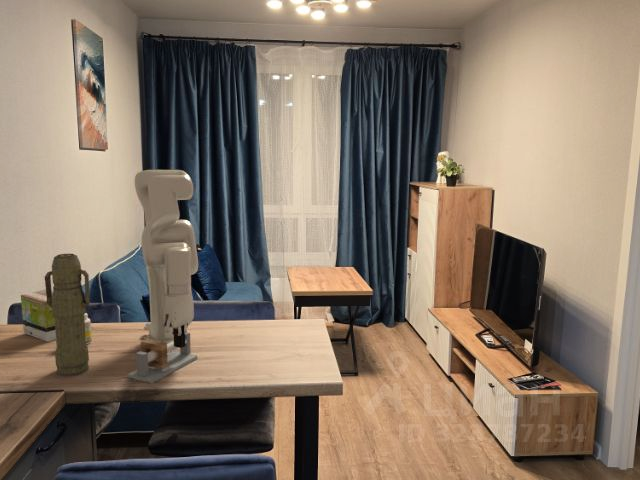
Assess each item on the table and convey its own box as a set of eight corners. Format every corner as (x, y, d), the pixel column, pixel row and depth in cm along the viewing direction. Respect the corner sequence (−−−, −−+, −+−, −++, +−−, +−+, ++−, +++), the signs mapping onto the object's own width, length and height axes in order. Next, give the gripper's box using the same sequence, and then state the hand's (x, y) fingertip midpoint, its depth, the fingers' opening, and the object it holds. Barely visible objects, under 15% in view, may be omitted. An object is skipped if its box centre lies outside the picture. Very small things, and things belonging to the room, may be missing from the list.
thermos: (55, 365, 160) (47, 252, 154) (96, 363, 162) (90, 251, 157) (46, 377, 151) (38, 258, 146) (90, 374, 154) (83, 257, 148)
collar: (141, 364, 156) (141, 341, 155) (147, 362, 158) (146, 339, 157) (162, 369, 153) (161, 345, 152) (167, 366, 155) (166, 343, 154)
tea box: (22, 334, 187) (19, 294, 185) (49, 327, 196) (46, 288, 193) (47, 342, 179) (44, 300, 177) (74, 334, 188) (71, 294, 186)
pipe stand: (127, 377, 152) (126, 351, 151) (176, 353, 171) (175, 330, 170) (152, 383, 148) (151, 357, 147) (198, 357, 168) (198, 334, 166)
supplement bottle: (74, 341, 181) (72, 312, 179) (91, 339, 183) (90, 311, 181) (73, 346, 176) (71, 317, 174) (91, 344, 178) (90, 315, 176)
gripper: (184, 281, 166) (185, 336, 169) (150, 292, 152) (153, 352, 155) (203, 284, 163) (204, 340, 166) (171, 296, 149) (173, 357, 152)
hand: (179, 346), depth 161 cm, fingers closed
